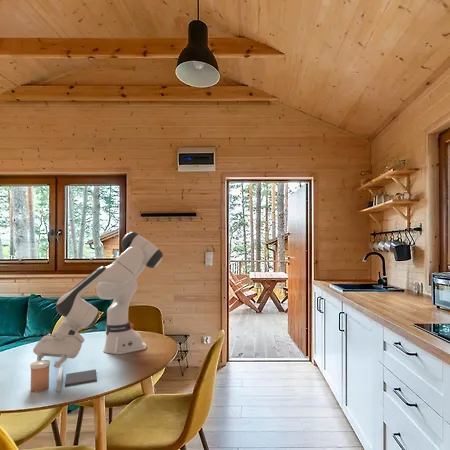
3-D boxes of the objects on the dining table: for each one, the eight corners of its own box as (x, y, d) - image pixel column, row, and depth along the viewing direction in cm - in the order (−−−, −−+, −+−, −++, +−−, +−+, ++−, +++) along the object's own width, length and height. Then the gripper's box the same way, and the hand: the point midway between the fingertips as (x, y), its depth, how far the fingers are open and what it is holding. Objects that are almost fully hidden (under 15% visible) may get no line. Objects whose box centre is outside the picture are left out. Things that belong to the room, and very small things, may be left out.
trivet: (95, 371, 147) (95, 369, 147) (96, 381, 136) (96, 379, 136) (66, 375, 142) (66, 373, 142) (64, 386, 131) (64, 384, 132)
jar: (50, 384, 134) (50, 359, 135) (48, 390, 128) (49, 364, 129) (31, 387, 131) (31, 361, 132) (28, 393, 125) (29, 367, 126)
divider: (63, 376, 142) (63, 366, 142) (60, 391, 127) (60, 380, 128) (59, 376, 141) (59, 367, 142) (56, 391, 127) (56, 381, 127)
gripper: (41, 330, 143) (21, 360, 133) (80, 332, 138) (63, 364, 128) (49, 337, 147) (30, 367, 137) (87, 340, 142) (71, 371, 132)
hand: (46, 366), depth 132 cm, fingers open, 8 cm apart
